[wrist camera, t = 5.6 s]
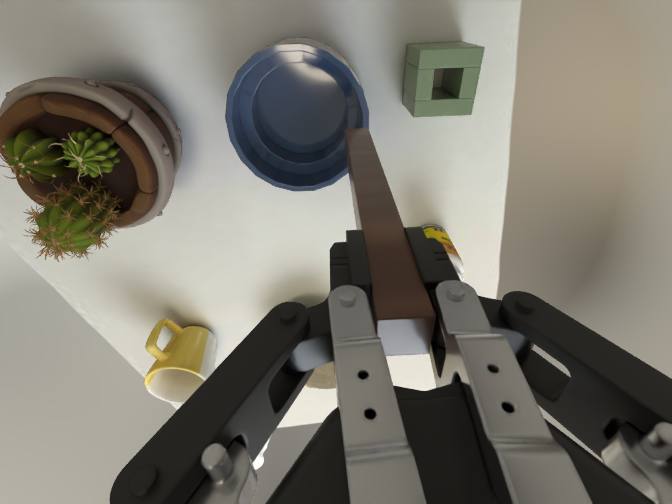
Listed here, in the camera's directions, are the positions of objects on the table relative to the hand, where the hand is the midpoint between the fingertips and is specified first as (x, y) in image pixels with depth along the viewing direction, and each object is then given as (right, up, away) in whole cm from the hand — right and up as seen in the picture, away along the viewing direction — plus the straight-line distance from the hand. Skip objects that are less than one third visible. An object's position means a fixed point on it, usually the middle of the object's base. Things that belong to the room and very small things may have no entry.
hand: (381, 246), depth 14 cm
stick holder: (+9, +19, +22) cm, 31 cm away
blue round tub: (-6, +16, +24) cm, 30 cm away
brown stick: (0, +9, +12) cm, 15 cm away
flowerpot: (-26, +14, +26) cm, 39 cm away
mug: (-28, -14, +46) cm, 56 cm away
